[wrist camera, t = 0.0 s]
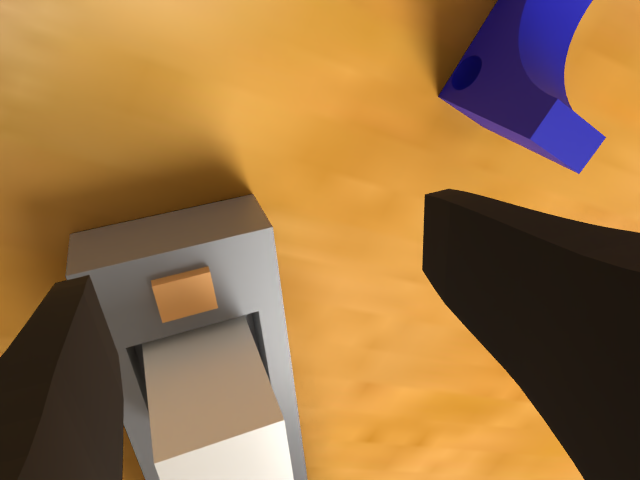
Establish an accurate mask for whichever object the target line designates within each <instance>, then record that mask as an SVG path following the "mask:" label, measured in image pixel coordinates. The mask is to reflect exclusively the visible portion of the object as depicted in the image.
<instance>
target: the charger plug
mask: <svg viewBox="0 0 640 480" xmlns="http://www.w3.org/2000/svg"><path fill="white" fill-rule="evenodd" d="M142 349H143V359H144V369H145V379H146V389H147V399H148V409H149V419H150V429H151V439H152V449H153V459H154V465H155V468H156V470H157V473H158V476H159V479H160V480H294V478H293V472H292V465H291V459H290V453H289V446H288V440H287V434H286V427H285V421H284V418H283V415H282V413H281V410H280V407H279V405H278V402H277V399H276V397H275V394H274V392H273V389H272V386H271V384H270V381H269V378H268V376H267V373H266V371H265V368H264V365H263V363H262V360H261V357H260V355H259V352H258V350H257V347H256V344H255V342H254V339H253V336H252V334H251V331H250V329H249V326H248V323H247V321H246V318H245V315H243V316H239V317H236V318H232V319H229V320H225V321H221V322H218V323H214V324H211V325H207V326H203V327H200V328H196V329H193V330H189V331H185V332H182V333H178V334H175V335H171V336H167V337H164V338H160V339H156V340H153V341H149V342H146V343H142Z"/></svg>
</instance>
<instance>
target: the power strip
mask: <svg viewBox="0 0 640 480" xmlns="http://www.w3.org/2000/svg"><path fill="white" fill-rule="evenodd" d="M87 275H90V278H91V281H92V283H93V286H94V289H95V292H96V294H97V297H98V300H99V303H100V305H101V308H102V311H103V314H104V316H105V319H106V322H107V325H108V327H109V330H110V333H111V336H112V338H113V341H114V344H115V347H116V349H117V352H118V355H119V363H120V371H121V379H122V388H123V397H124V419H123V424H124V427H125V429H126V432H127V434H128V437H129V439H130V442H131V444H132V447H133V450H134V452H135V455H136V457H137V460H138V462H139V465H140V467H141V470H142V472H143V475H144V478H145V480H160V479H159V476H158V473H157V470H156V468H155V465H154V459H153V449H152V439H151V429H150V419H149V409H148V399H147V389H146V379H145V369H144V359H143V349H142V343H146V342H149V341H153V340H156V339H160V338H164V337H167V336H171V335H175V334H178V333H182V332H185V331H189V330H193V329H196V328H200V327H203V326H207V325H211V324H214V323H218V322H221V321H225V320H229V319H232V318H236V317H239V316H243V315H245V318H246V321H247V323H248V326H249V329H250V331H251V334H252V336H253V339H254V342H255V344H256V347H257V350H258V352H259V355H260V357H261V360H262V363H263V365H264V368H265V371H266V373H267V376H268V378H269V381H270V384H271V386H272V389H273V392H274V394H275V397H276V399H277V402H278V405H279V407H280V410H281V413H282V415H283V418H284V421H285V427H286V434H287V440H288V446H289V453H290V459H291V465H292V472H293V478H294V480H307V473H306V466H305V458H304V451H303V444H302V437H301V429H300V422H299V415H298V407H297V400H296V393H295V386H294V378H293V371H292V364H291V356H290V349H289V342H288V335H287V327H286V320H285V313H284V305H283V298H282V291H281V284H280V276H279V269H278V262H277V254H276V247H275V240H274V233H273V227H272V225H271V223H270V222H269V220H268V218H267V217H266V215H265V213H264V212H263V210H262V208H261V207H260V205H259V203H258V201H257V200H256V198H255V196H254V195H253V194H251V195H246V196H242V197H237V198H233V199H228V200H223V201H219V202H214V203H210V204H205V205H201V206H196V207H191V208H187V209H182V210H178V211H173V212H169V213H164V214H159V215H155V216H150V217H146V218H141V219H136V220H132V221H127V222H123V223H118V224H114V225H109V226H104V227H100V228H95V229H91V230H86V231H82V232H77V233H72V234H70V238H69V247H68V257H67V266H66V275H65V276H66V279H67V280H70V279H74V278H78V277H82V276H87Z"/></svg>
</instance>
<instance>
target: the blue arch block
mask: <svg viewBox="0 0 640 480" xmlns="http://www.w3.org/2000/svg"><path fill="white" fill-rule="evenodd" d="M592 1H593V0H498V1H497V3H496V4H495V6H494V7H493V9H492V11H491V12H490V14H489V15H488V17H487V19H486V20H485V22H484V23H483V25H482V27H481V28H480V30H479V32H478V33H477V35H476V36H475V38H474V40H473V41H472V43H471V44H470V46H469V48H468V49H467V51H466V52H465V54H464V56H463V57H462V59H461V60H460V62H459V64H458V65H457V67H456V69H455V70H454V72H453V73H452V75H451V77H450V78H449V80H448V81H447V83H446V85H445V86H444V88H443V89H442V91H441V93H440V94H439V96H438V97H439V98H441V99H442V100H444V101H445V102H447V103H448V104H450V105H451V106H453V107H454V108H456V109H457V110H459V111H460V112H462V113H463V114H465V115H466V116H468V117H469V118H471V119H472V120H474V121H475V122H477V123H478V124H480V125H481V126H483V127H484V128H486V129H488V130H490V131H493V132H495V133H497V134H499V135H501V136H503V137H505V138H507V139H509V140H511V141H513V142H515V143H517V144H519V145H521V146H523V147H525V148H527V149H529V150H531V151H533V152H535V153H538V154H540V155H542V156H544V157H546V158H548V159H550V160H552V161H554V162H556V163H558V164H560V165H562V166H564V167H566V168H568V169H570V170H572V171H574V172H576V173H578V174H580V172H581V171H582V169H583V168H584V167H585V165H586V164H587V163H588V161H589V160H590V158H591V157H592V156H593V154H594V153H595V152H596V150H597V149H598V148H599V146H600V145H601V143H602V142H603V141H604V139H605V138H606V137H605V136H604V135H602V134H601V133H600V132H599V131H597V130H596V129H595V128H594V127H592V126H591V125H590V124H589V123H587V122H586V121H585V120H584V119H582V118H581V117H580V116H579V115H578V114H576V113H575V112H574V111H573V110H572V108H571V106H570V104H569V102H568V99H567V96H566V91H565V86H564V68H565V61H566V55H567V52H568V48H569V45H570V42H571V39H572V37H573V34H574V32H575V30H576V28H577V26H578V24H579V22H580V20H581V18H582V16H583V15H584V13H585V11H586V9H587V8H588V6H589V5H590V3H591V2H592Z"/></svg>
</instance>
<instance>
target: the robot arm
mask: <svg viewBox="0 0 640 480" xmlns="http://www.w3.org/2000/svg"><path fill="white" fill-rule="evenodd" d="M422 270H423V272H424V273H425V275H426V276H427V278H428V279H429V281H430V283H431V284H432V286H433V287H434V289H435V290H436V292H437V293H438V294H439V296H440V297H441V299H442V300H443V302H444V303H445V304H446V305H447V306H448V308H449V309H450V310H451V311H452V312H453V313H454V314H455V315H456V316H457V318H458V319H459V320H460V321H461V322H462V323H463V324H464V325H465V326H466V328H467V329H468V330H469V331H470V332H471V333H472V334H473V335H474V336H475V337H476V338H477V339H478V341H479V342H480V343H481V344H482V345H483V346H484V347H485V348H486V349H487V350H488V351H489V352H490V354H491V355H492V356H493V357H494V358H495V359H496V360H497V361H498V362H499V363H500V364H501V365H502V367H503V368H504V369H505V370H506V371H507V372H508V373H509V375H510V376H511V377H512V378H513V379H514V380H515V382H516V383H517V384H518V385H519V386H520V388H521V389H522V390H523V392H524V393H525V395H526V396H527V397H528V399H529V400H530V401H531V403H532V404H533V405H534V407H535V408H536V409H537V411H538V412H539V413H540V415H541V416H542V418H543V419H544V420H545V422H546V423H547V425H548V426H549V427H550V429H551V430H552V432H553V433H554V435H555V436H556V438H557V439H558V440H559V442H560V443H561V445H562V446H563V448H564V449H565V451H566V452H567V454H568V455H569V456H570V458H571V459H572V461H573V462H574V464H575V466H576V467H577V469H578V470H579V472H580V473H581V475H582V476H583V478H584V480H640V233H637V232H631V231H625V230H619V229H613V228H608V227H602V226H597V225H592V224H588V223H584V222H579V221H575V220H571V219H566V218H562V217H558V216H554V215H550V214H546V213H542V212H539V211H535V210H531V209H528V208H524V207H520V206H517V205H513V204H510V203H506V202H502V201H499V200H495V199H492V198H488V197H484V196H481V195H477V194H473V193H469V192H464V191H459V190H453V189H446V190H442V191H438V192H434V193H429V194H425V206H424V236H423V266H422ZM123 419H124V397H123V388H122V379H121V371H120V363H119V355H118V352H117V349H116V347H115V344H114V341H113V338H112V336H111V333H110V330H109V327H108V325H107V322H106V319H105V316H104V314H103V311H102V308H101V305H100V303H99V300H98V297H97V294H96V292H95V289H94V286H93V283H92V281H91V278H90V275H87V276H82V277H78V278H74V279H70V280H66V281H62V282H57V283H55V284H54V286H53V287H52V288H51V290H50V291H49V292H48V294H47V295H46V296H45V298H44V299H43V301H42V302H41V303H40V305H39V306H38V308H37V309H36V310H35V312H34V313H33V315H32V316H31V318H30V319H29V320H28V322H27V323H26V324H25V326H24V327H23V329H22V330H21V331H20V333H19V334H18V335H17V337H16V338H15V339H14V341H13V342H12V343H11V345H10V346H9V347H8V349H7V350H6V351H5V353H4V354H3V355H2V356H1V357H0V480H122V468H123Z"/></svg>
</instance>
